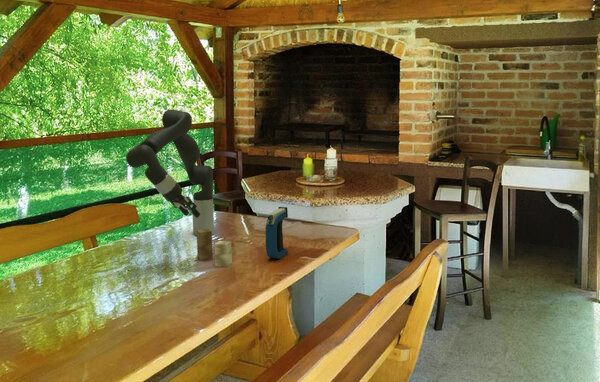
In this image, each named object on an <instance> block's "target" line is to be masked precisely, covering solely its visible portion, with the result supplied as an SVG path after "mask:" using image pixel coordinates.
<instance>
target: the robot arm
mask: <svg viewBox="0 0 600 382" xmlns="http://www.w3.org/2000/svg"><path fill="white" fill-rule="evenodd" d="M161 118H162V119H161V121H162V127H163V128H162V129H158V130H156V131H154V132H152V133H151V134H150V135H148V136H147V137H146V138H145V139H144V140H143V141H142V142H140V143H138V144H137V145H136V146H134V147H132V148H131V149H130V150H128V152H127V153H126V156H125V158H126V162H127V164H128V165H129V166H130V167H131V168H140V167H143V166H144V165H146V166H147V168H146V169H145V172H144V175H145V177H146V179H147V180H148V181H149V182H150V183H151V184H152V185H153V186H154V187H155V189H156V190H157V191H158V193H159V194H160V195H161V196H162V197H163V198H164V199H165V200H166V201H167V202H170V204H171V205H172V206H173V207H174V208H175V209H177V210H179V211H180V212H181V213H182V214H183V215H184V216H186V217H187V216H188V215H189V214H190V213H191V214H192V234H193V235H194V236H196V237H197V230H202V229H209V230H211V231H212V236H213V235H214V234H215V221H214V218H215V217H214V186H213V185H214V171H213V167H212V166H211V165H196V163H197V162H198V160H199V159H200V156H201V151H200V150H201V149H200V148H199V145H198V142H197V141H196V140H195V138H193V136H191V135H190V134H189V133H188V132H189V131H190V129H191V127H192V125H193V118H192V115H191V114H190V113H189V112H187V111H183V110H178V109H167V110H165V111H164V112H163V114H162V116H161ZM171 142H172V143H173V144H174V146H175V148H176V149H175V150H176V151H177V153H178V155H179V158H180V159H181V161H182V163H183V165H184V168H185V170H186V174H187V177H188V180H189V183H190V184H192V185H196V186H204V188H203V189H201V190H199V191H198V190H197V191H196V192H193V194H192V195H193V197H192V198H193V201H192V199H191V198H190V197H189V196H188V195H186V196H185V195H182V192H183V188H182V186H181V185H180V184H179V182H177V181H176V180H175V179H174V177H172V175H170V174H169V173H168V172H167V171H166V169H164V167H163V166H162V165H161V163H160V161H159V159H158V157H157V154H159V152H161V150H162V149H163V148H165V147H166V146H167V145H169V144H170V143H171Z"/></svg>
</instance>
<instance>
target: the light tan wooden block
mask: <svg viewBox="0 0 600 382" xmlns="http://www.w3.org/2000/svg"><path fill="white" fill-rule="evenodd" d="M196 252H197V255H196V256H197V260H199V261H200V262H206V261H213V260H214V256H213V255H214V254H213V253H214V251H213V235H212V231H211V230H209V229H202V230H197V236H196Z"/></svg>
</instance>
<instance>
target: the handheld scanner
mask: <svg viewBox="0 0 600 382" xmlns="http://www.w3.org/2000/svg"><path fill="white" fill-rule="evenodd" d="M288 211H289V210H288V207H285V206H279V207H278V208H277V209H276V210H274V211H272V212H270V213H268V214H267V220H266V223H265V251H266V256H267V257H268V258H270V259H277V260H280V259H282V258H283V257H284V256H285V255H287V253H288V249H287V248H286V247H284V235H283V234H284V233H283V220H284V219H287V218H288V216H289V214H288Z"/></svg>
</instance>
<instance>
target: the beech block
mask: <svg viewBox="0 0 600 382" xmlns="http://www.w3.org/2000/svg"><path fill="white" fill-rule="evenodd" d="M232 254H233V253H232V241H227V240H225V241H224V240H223V241H222V240H219V241H217V242H216V243H214V259H215V260H214V262H215V263H214V264H215V267H222V266H223V267H224V268H228V267H229V266H230V265H231V263H233V256H232Z"/></svg>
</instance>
